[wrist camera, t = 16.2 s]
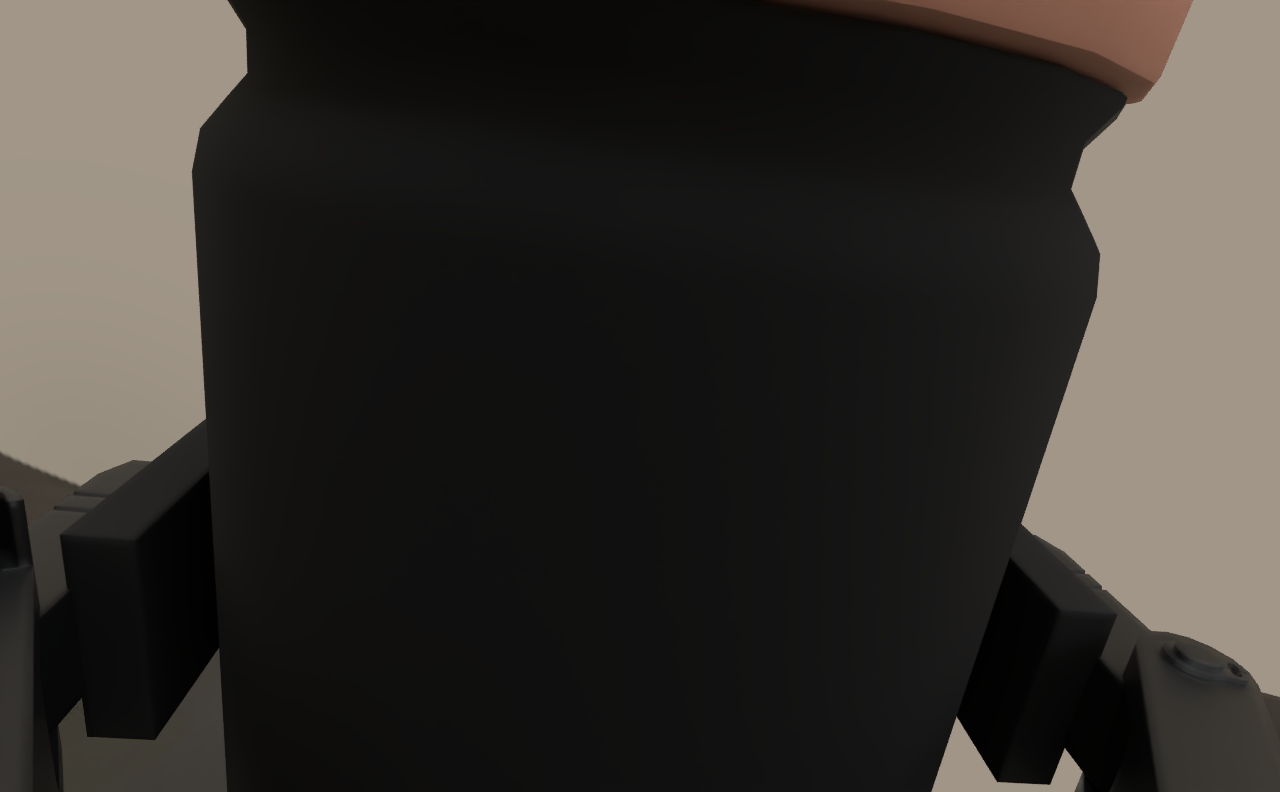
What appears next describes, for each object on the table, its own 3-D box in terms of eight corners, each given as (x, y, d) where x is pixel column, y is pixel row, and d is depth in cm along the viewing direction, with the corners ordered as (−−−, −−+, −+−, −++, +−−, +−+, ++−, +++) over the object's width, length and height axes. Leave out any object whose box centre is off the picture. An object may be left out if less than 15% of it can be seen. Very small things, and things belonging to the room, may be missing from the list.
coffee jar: (544, 709, 22) (622, 30, 16) (901, 971, 16) (1221, 63, 11) (131, 1002, 14) (-13, -154, 8) (555, 1735, 8) (1136, -471, 2)
